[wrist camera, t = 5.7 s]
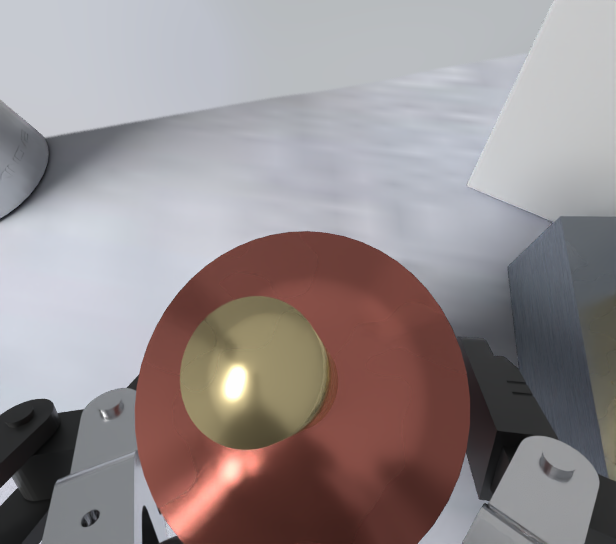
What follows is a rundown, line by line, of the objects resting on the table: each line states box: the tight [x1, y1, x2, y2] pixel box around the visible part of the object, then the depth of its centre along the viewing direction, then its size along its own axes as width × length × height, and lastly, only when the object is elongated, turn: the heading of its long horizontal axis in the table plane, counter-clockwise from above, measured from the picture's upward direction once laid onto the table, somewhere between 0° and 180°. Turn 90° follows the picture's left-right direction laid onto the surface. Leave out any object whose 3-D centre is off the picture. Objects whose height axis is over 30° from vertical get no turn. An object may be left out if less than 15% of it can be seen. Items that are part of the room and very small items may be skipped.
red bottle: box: [135, 231, 470, 544], centre depth 10 cm, size 5×5×14 cm
